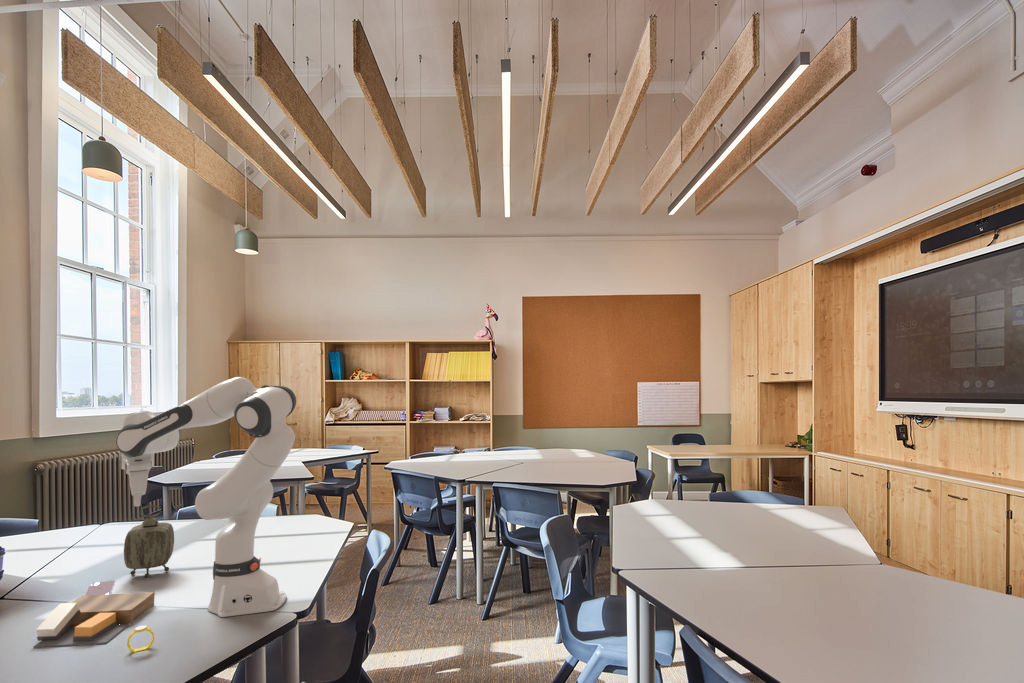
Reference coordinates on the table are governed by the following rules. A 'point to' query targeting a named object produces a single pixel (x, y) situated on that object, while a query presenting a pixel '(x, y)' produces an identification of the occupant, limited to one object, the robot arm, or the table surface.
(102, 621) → the eraser orange
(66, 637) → the mat
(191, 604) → the table surface
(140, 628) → the watch
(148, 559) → the tabletop clock
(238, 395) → the robot arm
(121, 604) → the riser
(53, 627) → the block
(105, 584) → the mobile phone
